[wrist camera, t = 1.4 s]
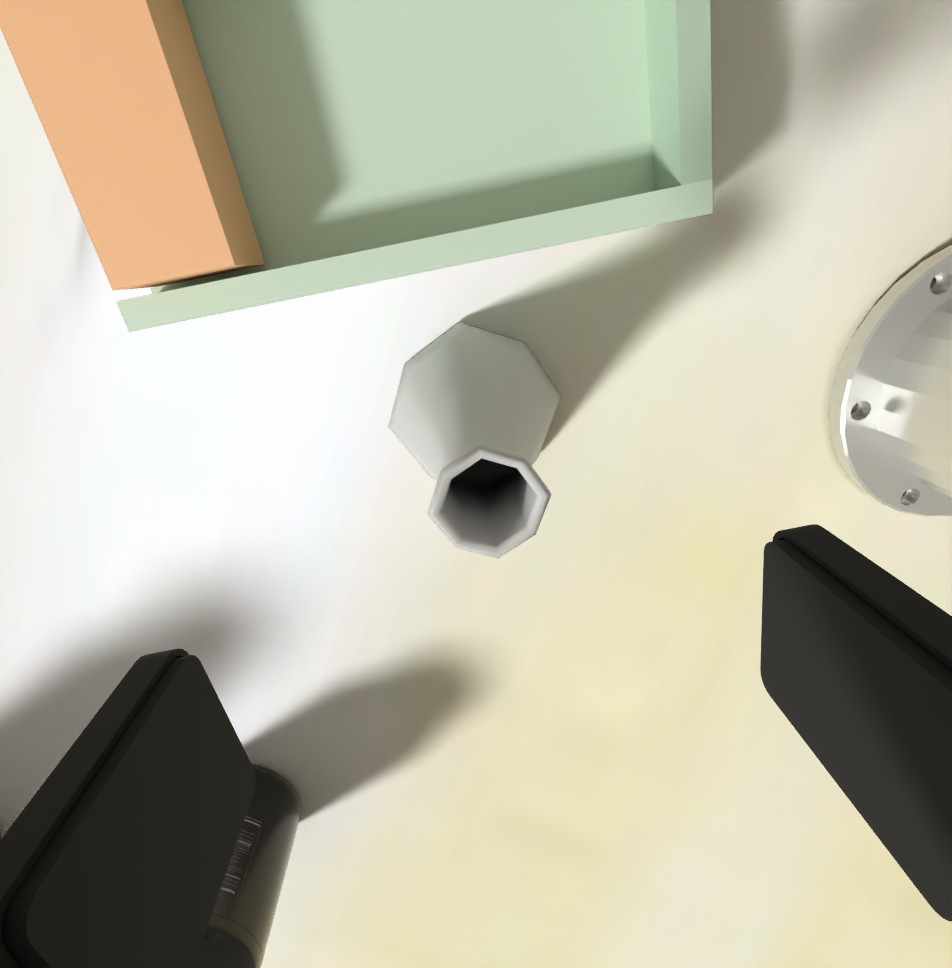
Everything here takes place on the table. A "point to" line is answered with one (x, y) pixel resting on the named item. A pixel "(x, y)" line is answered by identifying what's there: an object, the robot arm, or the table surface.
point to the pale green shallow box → (443, 134)
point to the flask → (478, 435)
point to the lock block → (134, 136)
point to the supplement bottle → (252, 878)
